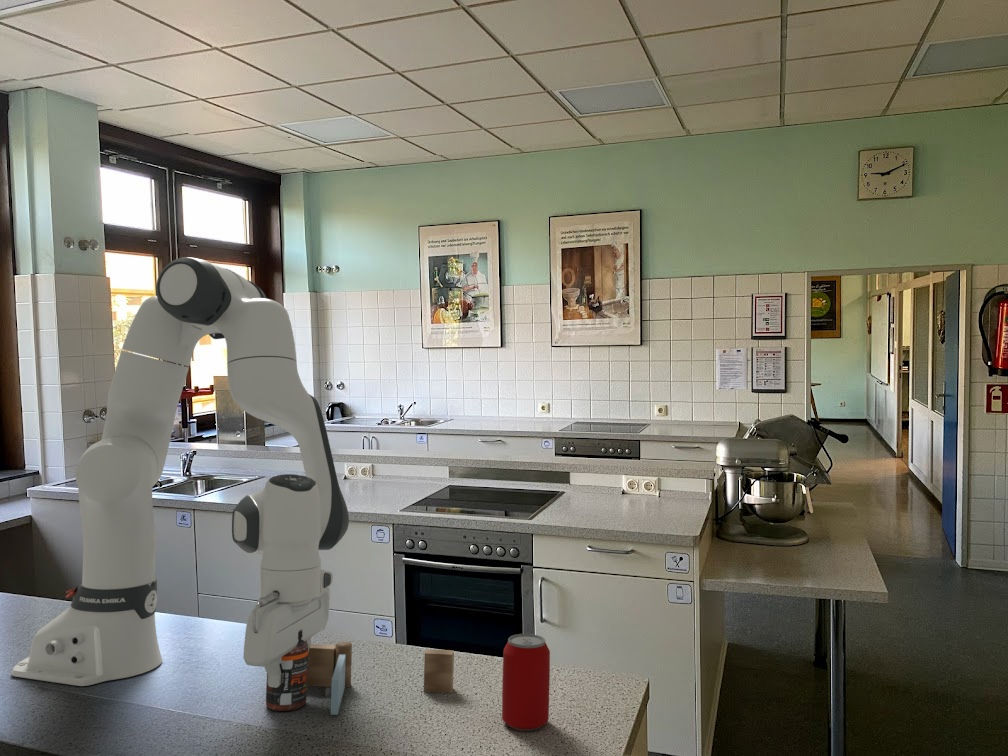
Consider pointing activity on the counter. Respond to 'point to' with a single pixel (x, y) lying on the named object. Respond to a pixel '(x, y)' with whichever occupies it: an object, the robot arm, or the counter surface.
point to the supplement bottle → (291, 680)
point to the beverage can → (526, 682)
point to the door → (337, 685)
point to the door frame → (326, 657)
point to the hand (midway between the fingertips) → (287, 677)
